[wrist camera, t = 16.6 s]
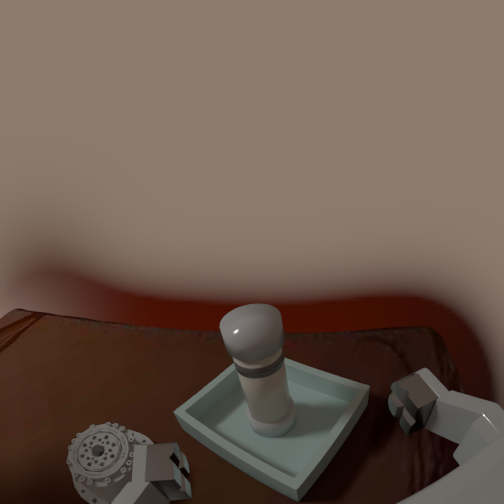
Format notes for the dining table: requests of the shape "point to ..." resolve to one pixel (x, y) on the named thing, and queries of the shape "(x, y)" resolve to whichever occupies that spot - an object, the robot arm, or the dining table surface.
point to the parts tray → (286, 446)
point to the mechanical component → (103, 461)
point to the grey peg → (260, 367)
